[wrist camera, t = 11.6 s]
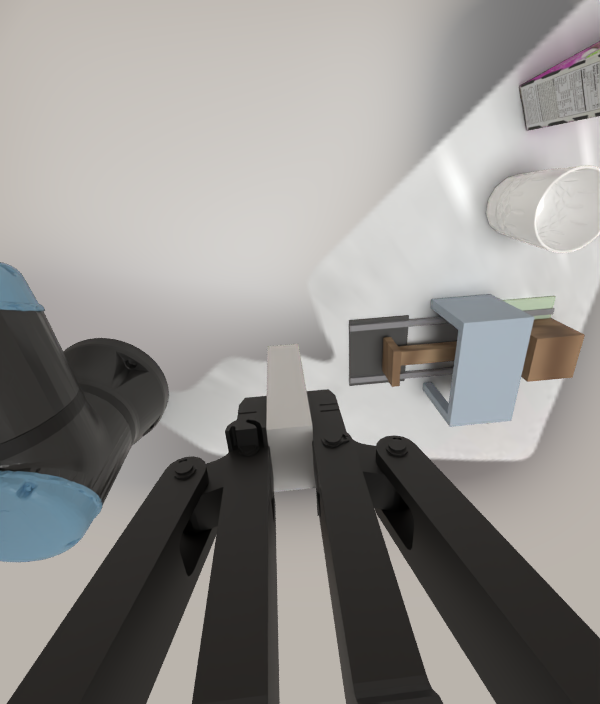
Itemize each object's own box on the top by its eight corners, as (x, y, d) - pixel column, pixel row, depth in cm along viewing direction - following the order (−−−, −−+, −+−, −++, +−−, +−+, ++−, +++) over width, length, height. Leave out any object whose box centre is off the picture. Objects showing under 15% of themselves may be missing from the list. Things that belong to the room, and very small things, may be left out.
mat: (486, 378, 55) (487, 379, 54) (500, 300, 49) (501, 301, 49) (535, 373, 55) (536, 374, 55) (554, 295, 50) (555, 296, 49)
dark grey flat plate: (349, 385, 53) (349, 385, 53) (349, 320, 49) (349, 320, 49) (403, 380, 54) (404, 380, 53) (408, 315, 49) (408, 315, 49)
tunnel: (349, 396, 54) (363, 435, 46) (349, 305, 48) (365, 331, 40) (533, 379, 55) (579, 414, 47) (555, 288, 49) (612, 310, 41)
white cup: (482, 246, 46) (534, 263, 37) (478, 180, 43) (534, 180, 34) (545, 228, 46) (613, 240, 37) (545, 159, 42) (620, 153, 33)
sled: (381, 371, 52) (393, 394, 47) (382, 332, 50) (396, 351, 44) (541, 357, 53) (572, 377, 48) (550, 318, 51) (584, 334, 45)
